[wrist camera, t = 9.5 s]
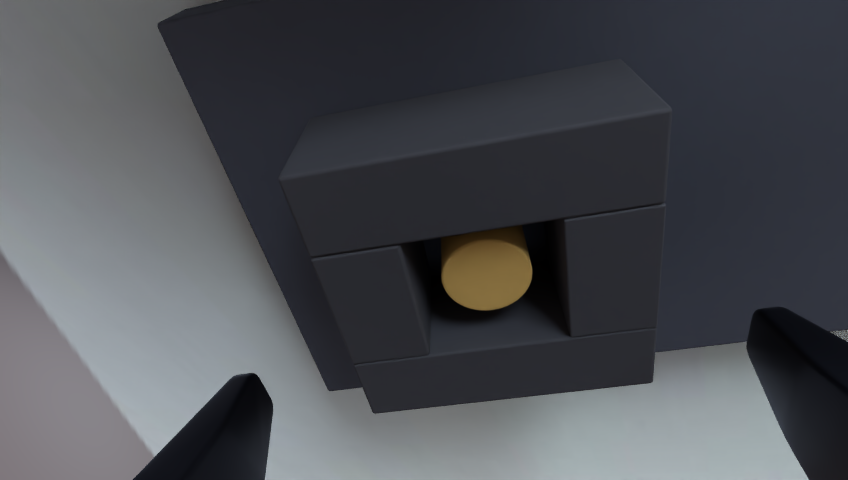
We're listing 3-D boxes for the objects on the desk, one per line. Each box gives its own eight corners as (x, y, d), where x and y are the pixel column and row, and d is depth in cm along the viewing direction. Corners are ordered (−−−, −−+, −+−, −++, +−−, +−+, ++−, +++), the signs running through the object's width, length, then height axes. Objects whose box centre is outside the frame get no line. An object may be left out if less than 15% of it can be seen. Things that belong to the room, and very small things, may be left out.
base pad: (1190, -223, 9) (1594, -279, 6) (949, 280, 16) (1081, 382, 13) (183, 9, 12) (88, 56, 9) (335, 358, 19) (313, 460, 15)
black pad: (621, 56, 11) (674, 107, 9) (617, 300, 15) (653, 383, 12) (308, 116, 12) (275, 178, 9) (382, 331, 16) (372, 414, 13)
